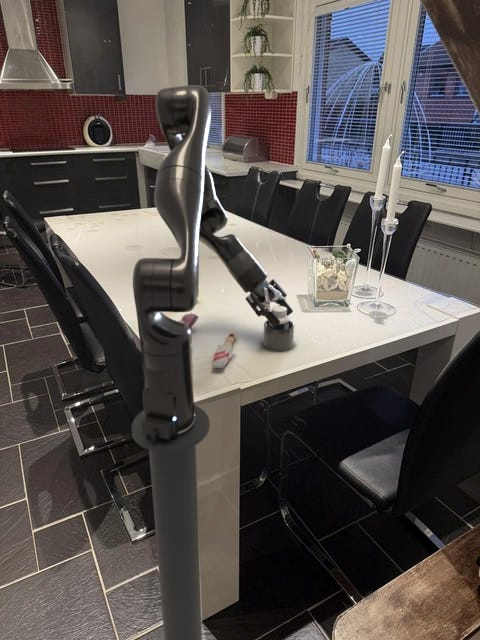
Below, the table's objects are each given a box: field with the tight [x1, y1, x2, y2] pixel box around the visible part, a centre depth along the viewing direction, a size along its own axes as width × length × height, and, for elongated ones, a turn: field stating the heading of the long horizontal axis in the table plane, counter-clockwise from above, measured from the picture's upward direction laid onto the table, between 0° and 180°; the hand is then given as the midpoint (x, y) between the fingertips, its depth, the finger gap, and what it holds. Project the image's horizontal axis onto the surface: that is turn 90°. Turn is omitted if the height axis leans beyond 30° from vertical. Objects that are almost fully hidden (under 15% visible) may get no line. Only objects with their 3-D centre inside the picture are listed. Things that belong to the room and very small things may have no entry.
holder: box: [262, 319, 295, 352], centre depth 125 cm, size 8×8×6 cm
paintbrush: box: [211, 332, 236, 369], centre depth 120 cm, size 4×3×20 cm
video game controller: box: [178, 311, 199, 331], centre depth 131 cm, size 10×5×7 cm, turn 159°
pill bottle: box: [268, 305, 290, 330], centre depth 124 cm, size 5×5×10 cm
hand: (284, 319), depth 123 cm, fingers open, 8 cm apart
